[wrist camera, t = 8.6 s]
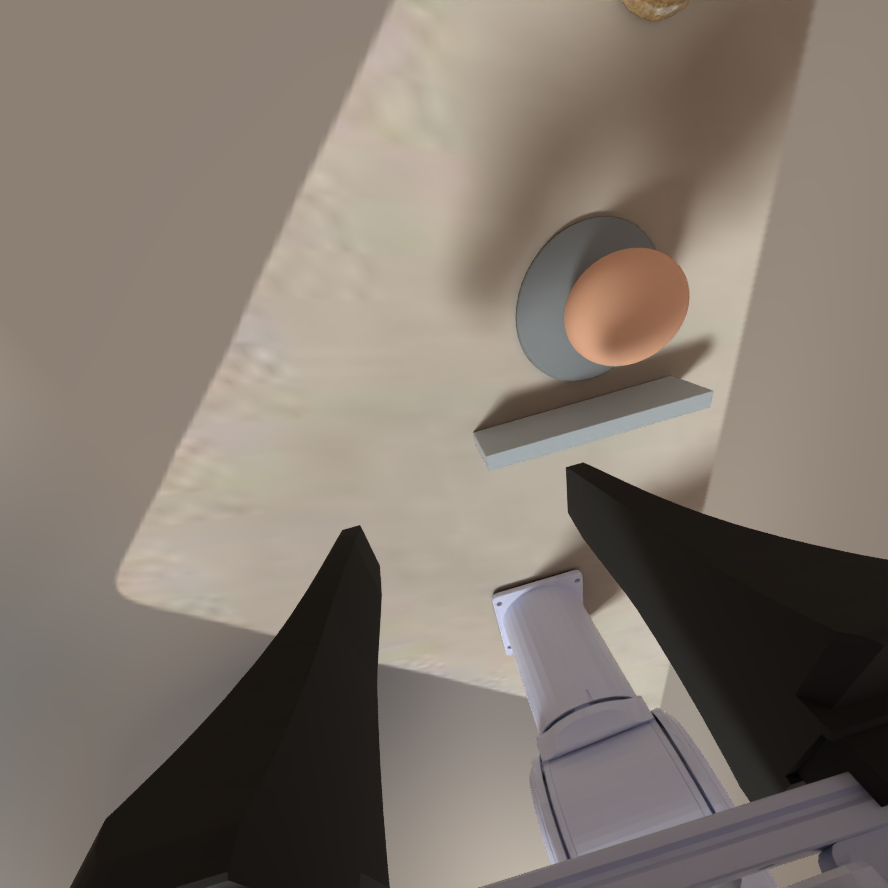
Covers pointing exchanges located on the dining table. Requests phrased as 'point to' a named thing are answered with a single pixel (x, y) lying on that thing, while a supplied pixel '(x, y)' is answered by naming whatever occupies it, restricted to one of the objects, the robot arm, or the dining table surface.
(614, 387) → the dining table surface
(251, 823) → the robot arm
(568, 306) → the terracotta ball
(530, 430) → the acrylic wall
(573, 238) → the pad
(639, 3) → the spice jar
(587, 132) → the dining table surface
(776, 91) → the dining table surface
